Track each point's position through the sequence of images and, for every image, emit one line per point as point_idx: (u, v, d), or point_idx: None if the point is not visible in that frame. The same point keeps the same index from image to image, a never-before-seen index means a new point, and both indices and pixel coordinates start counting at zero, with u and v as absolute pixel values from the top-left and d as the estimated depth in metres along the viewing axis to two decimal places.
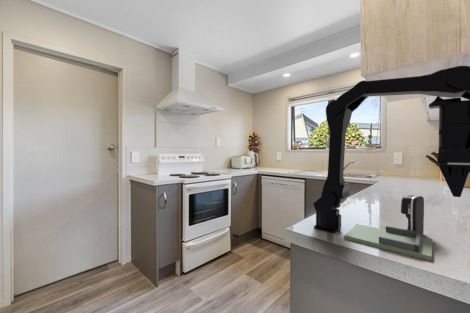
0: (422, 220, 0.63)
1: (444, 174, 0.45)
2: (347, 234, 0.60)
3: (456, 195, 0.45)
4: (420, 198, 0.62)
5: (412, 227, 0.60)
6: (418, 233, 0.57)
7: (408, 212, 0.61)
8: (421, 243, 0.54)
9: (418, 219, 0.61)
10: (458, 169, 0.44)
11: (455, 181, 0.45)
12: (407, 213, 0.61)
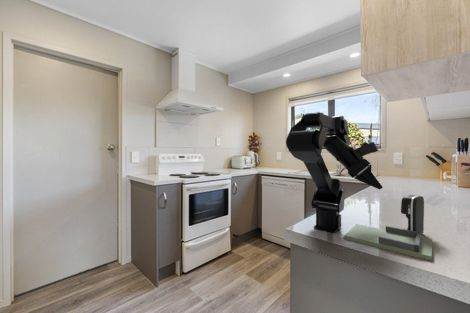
0: (422, 220, 0.63)
1: (362, 181, 0.63)
2: (347, 234, 0.60)
3: (380, 187, 0.62)
4: (420, 198, 0.62)
5: (412, 228, 0.60)
6: (418, 233, 0.57)
7: (408, 212, 0.61)
8: (421, 243, 0.54)
9: (418, 219, 0.61)
10: (365, 173, 0.63)
11: (371, 180, 0.63)
12: (407, 213, 0.61)
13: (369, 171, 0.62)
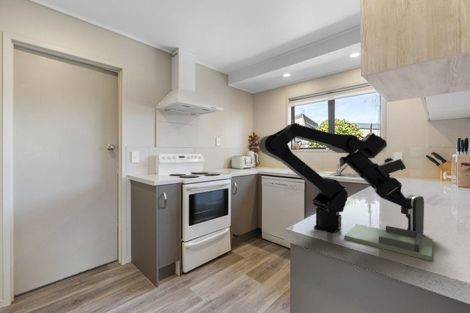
0: (422, 220, 0.63)
1: (391, 201, 0.60)
2: (347, 234, 0.60)
3: (410, 208, 0.60)
4: (420, 198, 0.62)
5: (412, 227, 0.60)
6: (418, 233, 0.57)
7: (408, 212, 0.61)
8: (421, 243, 0.54)
9: (418, 219, 0.61)
10: (394, 192, 0.60)
11: (400, 200, 0.60)
12: (407, 213, 0.61)
13: (398, 191, 0.59)
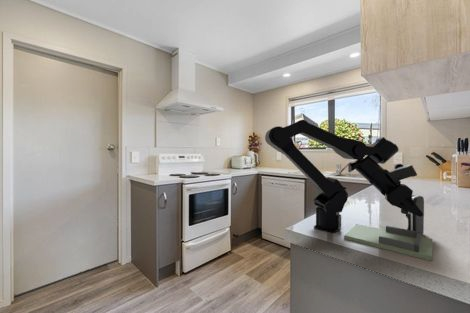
0: (422, 220, 0.63)
1: (402, 207, 0.60)
2: (347, 234, 0.60)
3: (421, 215, 0.59)
4: (420, 198, 0.62)
5: (413, 227, 0.60)
6: (418, 233, 0.57)
7: (409, 212, 0.61)
8: (421, 243, 0.54)
9: (418, 219, 0.61)
10: (404, 199, 0.60)
11: (411, 207, 0.59)
12: (407, 213, 0.61)
13: (409, 198, 0.59)
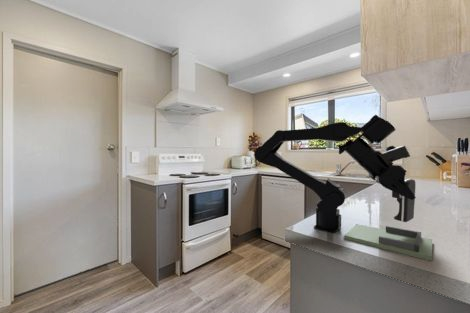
0: (413, 205, 0.60)
1: (393, 190, 0.56)
2: (347, 234, 0.60)
3: (413, 198, 0.55)
4: (412, 181, 0.58)
5: (404, 212, 0.57)
6: (418, 233, 0.57)
7: (400, 196, 0.58)
8: (421, 243, 0.54)
9: (409, 203, 0.57)
10: (396, 181, 0.56)
11: (403, 190, 0.56)
12: (398, 197, 0.58)
13: (402, 179, 0.55)
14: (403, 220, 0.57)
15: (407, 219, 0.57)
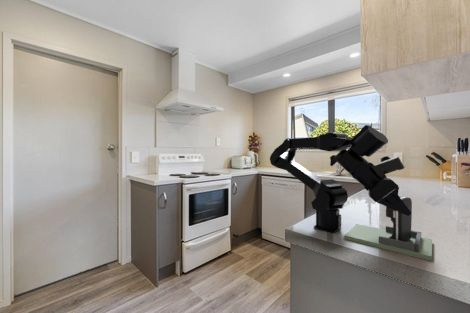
0: (410, 225, 0.56)
1: (387, 205, 0.52)
2: (347, 234, 0.60)
3: (408, 214, 0.52)
4: (407, 200, 0.55)
5: (398, 233, 0.54)
6: (418, 233, 0.57)
7: (394, 216, 0.54)
8: (421, 243, 0.54)
9: (404, 224, 0.54)
10: (390, 196, 0.53)
11: (397, 205, 0.52)
12: (392, 216, 0.54)
13: (395, 194, 0.51)
14: None
15: (402, 240, 0.54)
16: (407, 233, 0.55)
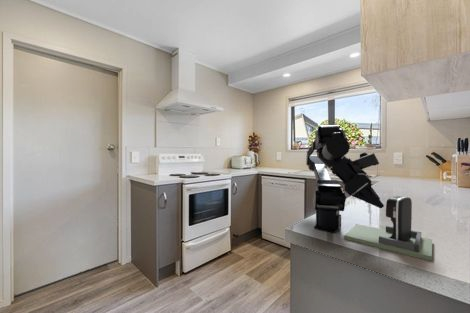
0: (410, 225, 0.56)
1: (361, 198, 0.56)
2: (347, 234, 0.60)
3: (381, 206, 0.55)
4: (407, 200, 0.55)
5: (398, 233, 0.54)
6: (418, 233, 0.57)
7: (394, 216, 0.54)
8: (421, 243, 0.54)
9: (404, 224, 0.54)
10: (364, 190, 0.56)
11: (371, 198, 0.55)
12: (392, 216, 0.54)
13: (369, 188, 0.55)
14: None
15: (402, 240, 0.54)
16: (407, 233, 0.55)
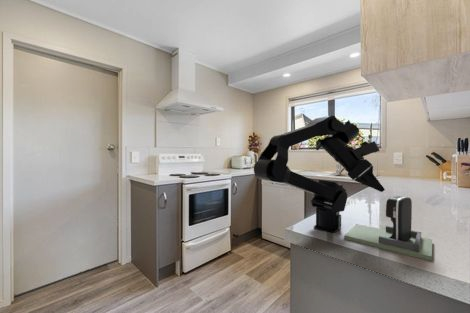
0: (410, 225, 0.56)
1: (363, 183, 0.59)
2: (347, 234, 0.60)
3: (382, 190, 0.59)
4: (407, 200, 0.55)
5: (398, 233, 0.54)
6: (418, 233, 0.57)
7: (394, 216, 0.54)
8: (421, 243, 0.54)
9: (404, 224, 0.54)
10: (366, 175, 0.59)
11: (372, 182, 0.59)
12: (392, 216, 0.54)
13: (370, 172, 0.58)
14: None
15: (402, 240, 0.54)
16: (407, 233, 0.55)
